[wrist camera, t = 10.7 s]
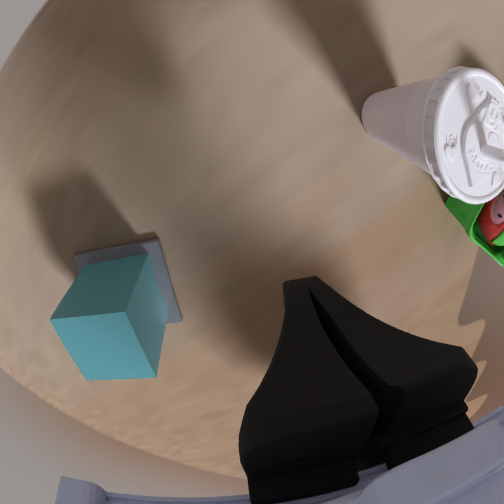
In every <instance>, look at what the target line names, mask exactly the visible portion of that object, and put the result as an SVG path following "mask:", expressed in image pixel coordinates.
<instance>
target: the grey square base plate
mask: <svg viewBox="0 0 504 504" xmlns="http://www.w3.org/2000/svg"><path fill="white" fill-rule="evenodd" d="M148 253H149V256H150V260H151V263H152V266H153V269H154V272H155V276H156V279H157V282H158V285H159V288H160V291H161V294H162V297H163V300H164V303H165V306H166V309H167V311H168V315H167V320H166V323H173V322H181V321H182V319H183V317H182V314H181V311H180V308H179V305H178V301H177V298H176V295H175V292H174V288H173V285H172V282H171V278H170V275H169V271H168V268H167V264H166V261H165V257H164V254H163V250H162V247H161V243H160V239H159V238H156V239H151V240H145V241H140V242H134V243H129V244H123V245H118V246H112V247H107V248H102V249H96V250H91V251H86V252H81V253H76V254H74V256H73V259H74V262H75V264H76V267H77V269H78V272H79V273H80V272H81V271H82V269H83V268H84V266H85V265H86V264H91V263H97V262H102V261H108V260H114V259H119V258H125V257H131V256H136V255H142V254H148Z"/></svg>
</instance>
